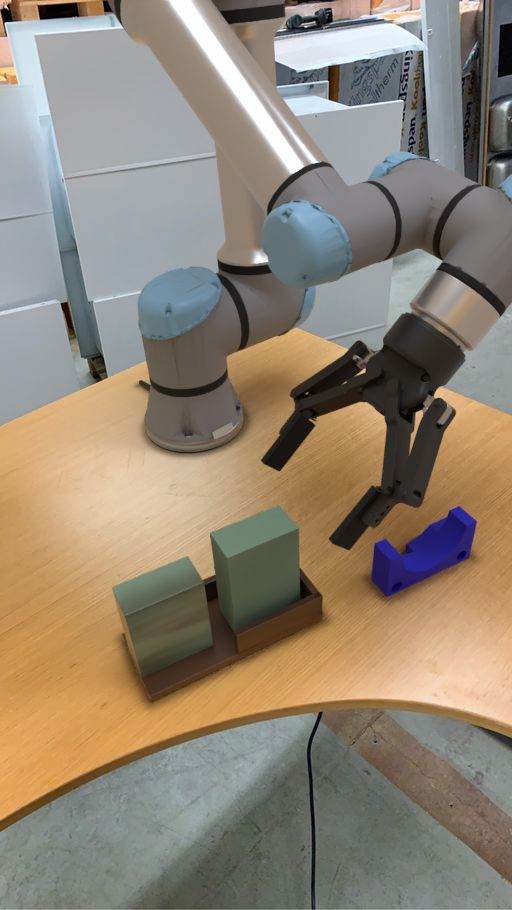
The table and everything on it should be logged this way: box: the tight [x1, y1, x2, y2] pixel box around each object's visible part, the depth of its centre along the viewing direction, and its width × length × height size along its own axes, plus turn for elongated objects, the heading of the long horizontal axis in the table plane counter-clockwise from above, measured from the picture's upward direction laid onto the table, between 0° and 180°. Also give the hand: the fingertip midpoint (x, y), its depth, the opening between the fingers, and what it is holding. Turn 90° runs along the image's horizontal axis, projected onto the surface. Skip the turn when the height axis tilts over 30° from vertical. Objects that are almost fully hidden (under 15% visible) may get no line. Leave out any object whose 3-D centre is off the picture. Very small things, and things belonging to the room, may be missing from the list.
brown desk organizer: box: [111, 555, 324, 703], centre depth 68 cm, size 9×20×11 cm, turn 118°
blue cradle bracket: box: [370, 505, 478, 598], centre depth 76 cm, size 12×4×6 cm, turn 118°
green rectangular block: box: [209, 504, 301, 631], centre depth 69 cm, size 4×8×12 cm, turn 118°
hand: (301, 503), depth 67 cm, fingers open, 13 cm apart
